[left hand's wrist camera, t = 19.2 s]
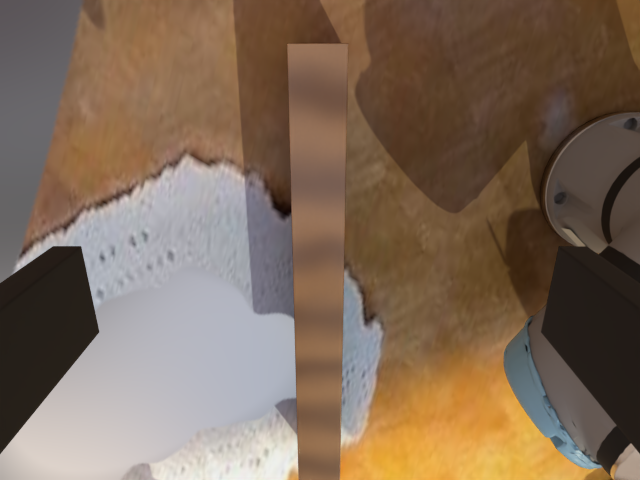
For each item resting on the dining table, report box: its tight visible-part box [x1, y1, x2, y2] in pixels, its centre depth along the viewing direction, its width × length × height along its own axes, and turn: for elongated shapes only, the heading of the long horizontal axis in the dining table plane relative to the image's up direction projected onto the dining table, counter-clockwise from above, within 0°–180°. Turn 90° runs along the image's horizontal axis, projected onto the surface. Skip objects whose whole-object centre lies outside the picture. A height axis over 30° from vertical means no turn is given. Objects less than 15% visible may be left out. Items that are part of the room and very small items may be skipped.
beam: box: [287, 43, 348, 480], centre depth 50 cm, size 51×5×9 cm, turn 0°
